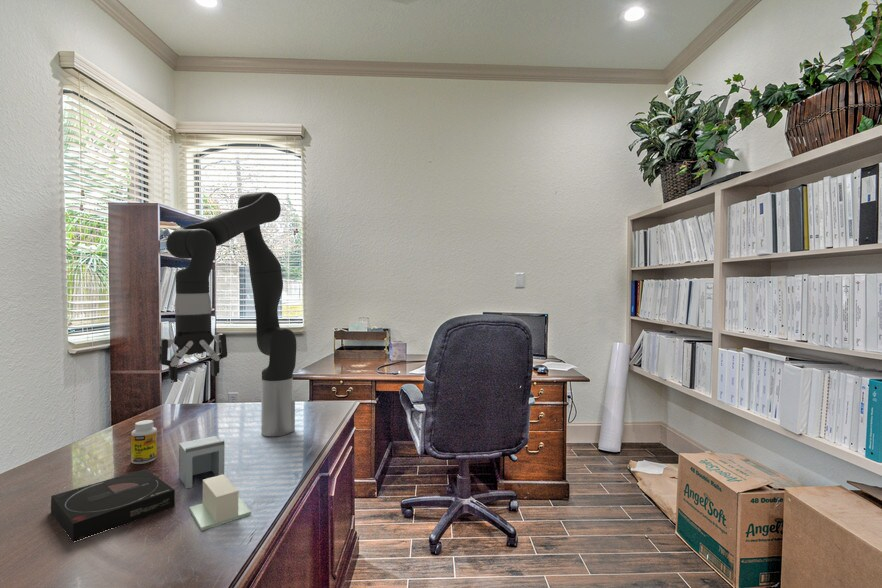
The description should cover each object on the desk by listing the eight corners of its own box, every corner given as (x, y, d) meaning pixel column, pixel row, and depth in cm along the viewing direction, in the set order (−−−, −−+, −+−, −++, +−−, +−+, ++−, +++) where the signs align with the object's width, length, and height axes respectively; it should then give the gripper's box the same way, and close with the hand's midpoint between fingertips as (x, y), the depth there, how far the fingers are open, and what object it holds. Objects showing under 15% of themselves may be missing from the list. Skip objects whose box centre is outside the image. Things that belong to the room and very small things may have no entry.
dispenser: (215, 467, 108) (215, 432, 108) (224, 478, 102) (224, 441, 102) (179, 476, 103) (179, 439, 103) (186, 488, 97) (186, 449, 97)
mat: (236, 496, 94) (236, 493, 94) (251, 514, 86) (251, 511, 86) (189, 509, 88) (189, 507, 88) (201, 530, 80) (201, 527, 80)
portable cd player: (144, 485, 100) (144, 468, 100) (174, 508, 89) (174, 489, 89) (50, 514, 87) (50, 494, 87) (73, 546, 76) (73, 523, 76)
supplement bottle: (130, 466, 109) (130, 426, 109) (131, 459, 113) (131, 421, 113) (156, 462, 112) (156, 423, 112) (156, 455, 116) (156, 417, 116)
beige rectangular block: (223, 497, 92) (223, 474, 92) (238, 515, 85) (238, 490, 85) (202, 503, 89) (202, 479, 89) (216, 522, 82) (216, 497, 82)
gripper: (220, 309, 111) (221, 371, 111) (155, 313, 101) (157, 381, 101) (229, 311, 105) (231, 376, 106) (162, 314, 95) (164, 386, 96)
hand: (194, 378), depth 104 cm, fingers open, 8 cm apart
